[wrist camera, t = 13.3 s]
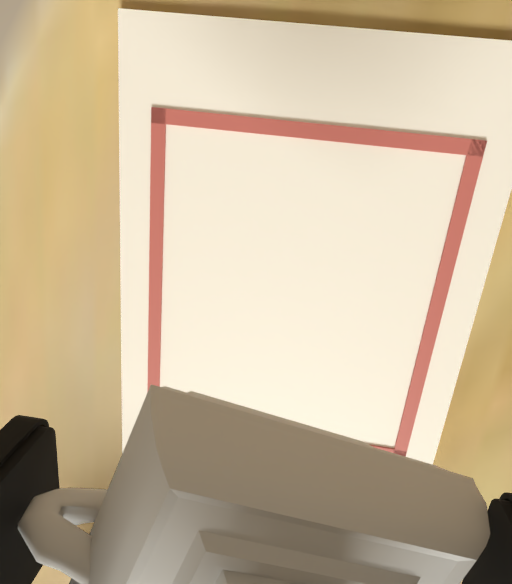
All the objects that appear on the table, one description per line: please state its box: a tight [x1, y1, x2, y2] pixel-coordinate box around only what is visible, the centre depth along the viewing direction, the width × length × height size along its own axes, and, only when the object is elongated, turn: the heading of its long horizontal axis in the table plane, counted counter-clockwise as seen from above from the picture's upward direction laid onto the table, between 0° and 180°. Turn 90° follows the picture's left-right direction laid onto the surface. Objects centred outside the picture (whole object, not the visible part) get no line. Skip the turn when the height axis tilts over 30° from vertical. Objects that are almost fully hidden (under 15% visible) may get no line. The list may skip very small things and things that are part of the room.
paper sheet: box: [118, 8, 512, 465], centre depth 21 cm, size 16×22×1 cm
